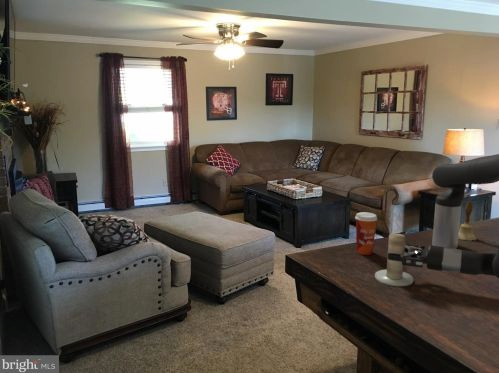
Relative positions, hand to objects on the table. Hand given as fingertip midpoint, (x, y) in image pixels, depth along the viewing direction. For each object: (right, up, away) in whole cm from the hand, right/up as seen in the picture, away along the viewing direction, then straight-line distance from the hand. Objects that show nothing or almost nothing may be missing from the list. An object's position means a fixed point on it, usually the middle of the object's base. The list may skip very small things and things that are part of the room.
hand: (389, 251), depth 137 cm
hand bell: (+46, -1, +41) cm, 62 cm away
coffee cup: (-1, -4, +25) cm, 25 cm away
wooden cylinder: (+2, -8, +1) cm, 9 cm away
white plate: (+2, -9, +1) cm, 9 cm away
